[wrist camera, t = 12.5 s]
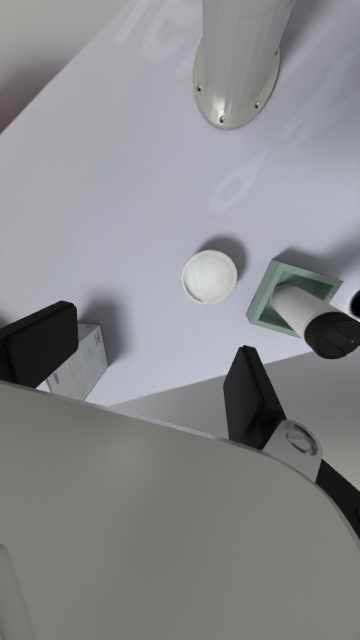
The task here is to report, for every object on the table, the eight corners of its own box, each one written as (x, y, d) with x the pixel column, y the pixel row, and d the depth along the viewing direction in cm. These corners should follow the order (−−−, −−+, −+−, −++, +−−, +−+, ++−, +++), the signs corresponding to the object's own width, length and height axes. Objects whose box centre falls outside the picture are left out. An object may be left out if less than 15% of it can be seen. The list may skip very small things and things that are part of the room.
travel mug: (282, 275, 39) (347, 310, 21) (304, 292, 40) (385, 340, 22) (260, 298, 42) (302, 345, 24) (282, 313, 43) (338, 371, 25)
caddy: (271, 259, 39) (280, 262, 34) (327, 275, 39) (343, 281, 34) (245, 314, 45) (250, 323, 40) (294, 328, 45) (304, 339, 40)
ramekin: (174, 275, 43) (170, 280, 38) (208, 236, 38) (209, 236, 34) (208, 306, 45) (208, 314, 40) (244, 272, 41) (249, 277, 36)
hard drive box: (75, 322, 52) (6, 368, 34) (100, 323, 51) (44, 372, 33) (86, 365, 58) (34, 423, 41) (109, 367, 58) (66, 427, 40)
